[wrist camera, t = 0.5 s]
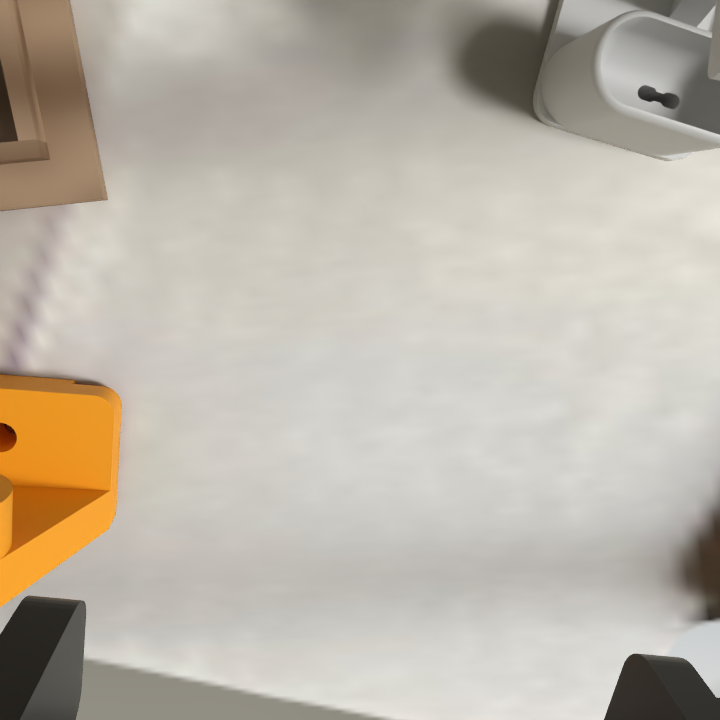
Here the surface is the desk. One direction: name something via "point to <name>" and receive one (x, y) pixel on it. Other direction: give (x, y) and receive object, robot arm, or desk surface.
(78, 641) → the robot arm
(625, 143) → the phone holder
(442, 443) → the desk surface
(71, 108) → the stop seat
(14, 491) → the bracket
